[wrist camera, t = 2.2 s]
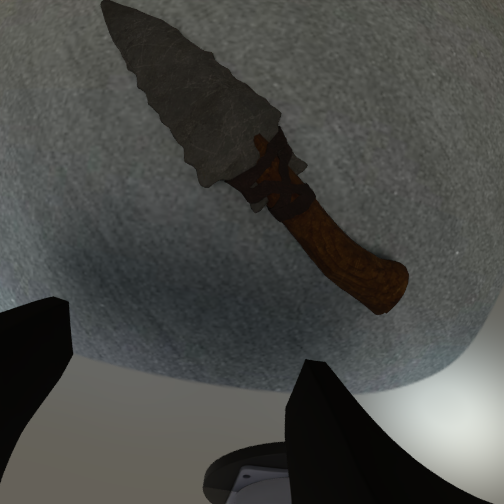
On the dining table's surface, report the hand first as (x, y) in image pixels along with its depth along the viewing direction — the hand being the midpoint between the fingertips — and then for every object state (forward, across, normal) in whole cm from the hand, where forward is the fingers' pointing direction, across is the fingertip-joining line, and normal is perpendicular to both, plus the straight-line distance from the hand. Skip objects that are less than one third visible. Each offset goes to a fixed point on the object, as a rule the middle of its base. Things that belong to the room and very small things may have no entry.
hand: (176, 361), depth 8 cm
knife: (+4, 0, -6) cm, 8 cm away
